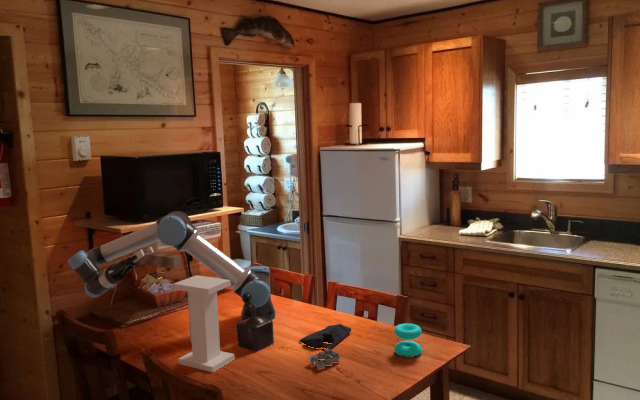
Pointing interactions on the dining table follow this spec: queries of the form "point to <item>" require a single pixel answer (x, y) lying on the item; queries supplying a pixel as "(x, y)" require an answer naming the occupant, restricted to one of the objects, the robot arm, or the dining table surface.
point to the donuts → (407, 333)
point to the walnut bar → (159, 259)
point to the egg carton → (326, 356)
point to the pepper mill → (254, 329)
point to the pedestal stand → (204, 323)
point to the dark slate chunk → (326, 336)
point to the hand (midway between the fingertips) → (147, 251)
